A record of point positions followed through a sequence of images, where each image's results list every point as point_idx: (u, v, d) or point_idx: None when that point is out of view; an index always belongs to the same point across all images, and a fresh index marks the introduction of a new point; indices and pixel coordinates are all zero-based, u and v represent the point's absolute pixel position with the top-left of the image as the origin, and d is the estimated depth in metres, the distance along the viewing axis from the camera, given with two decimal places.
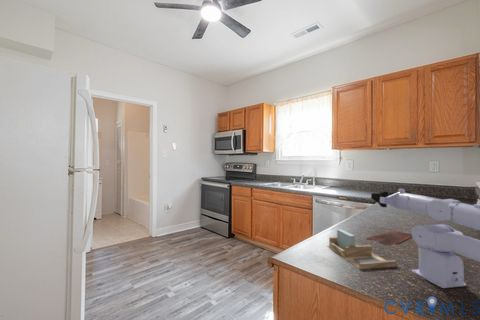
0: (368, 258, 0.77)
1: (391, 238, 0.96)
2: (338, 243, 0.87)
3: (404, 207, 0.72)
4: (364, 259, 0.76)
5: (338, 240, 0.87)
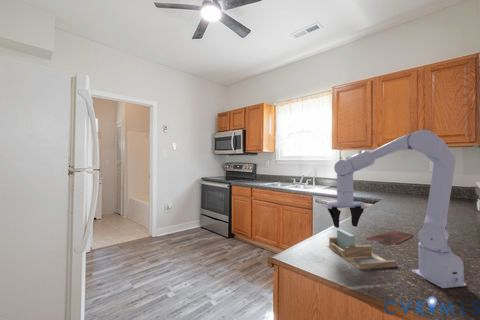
0: (368, 258, 0.77)
1: (391, 238, 0.96)
2: (338, 243, 0.87)
3: (342, 195, 0.82)
4: (364, 259, 0.76)
5: (338, 240, 0.87)
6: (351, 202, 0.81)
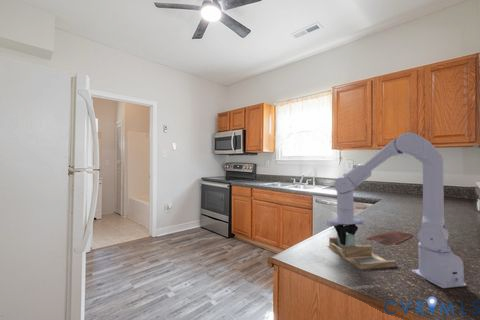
0: (368, 258, 0.77)
1: (391, 238, 0.96)
2: (338, 243, 0.87)
3: (342, 213, 0.82)
4: (364, 259, 0.76)
5: (338, 240, 0.87)
6: (351, 220, 0.81)
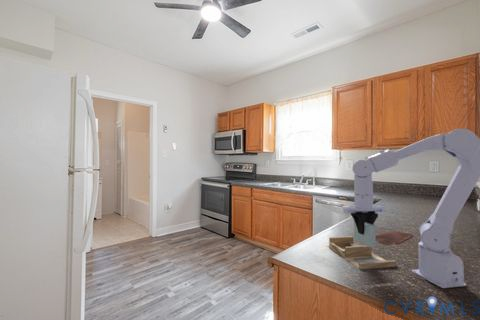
0: (368, 258, 0.77)
1: (391, 238, 0.96)
2: (355, 234, 0.79)
3: (361, 199, 0.74)
4: (364, 259, 0.76)
5: (355, 231, 0.79)
6: (371, 206, 0.74)
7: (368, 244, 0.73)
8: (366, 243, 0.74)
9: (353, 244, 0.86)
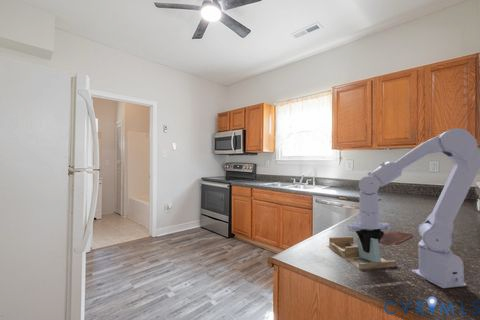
0: None
1: (391, 239, 0.96)
2: (360, 252, 0.77)
3: (366, 217, 0.72)
4: (364, 259, 0.76)
5: (359, 248, 0.78)
6: (377, 224, 0.72)
7: (374, 259, 0.71)
8: (371, 259, 0.72)
9: (353, 244, 0.86)
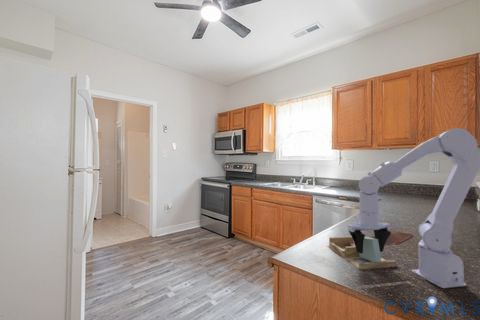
0: None
1: (391, 239, 0.96)
2: None
3: (366, 217, 0.72)
4: (364, 259, 0.76)
5: None
6: (377, 224, 0.72)
7: (374, 259, 0.71)
8: (371, 259, 0.72)
9: (353, 244, 0.86)
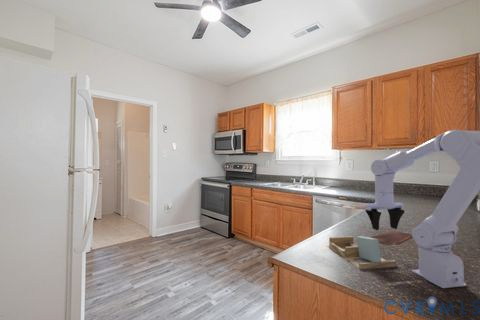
0: None
1: (391, 239, 0.96)
2: (360, 252, 0.77)
3: (382, 196, 0.79)
4: (364, 259, 0.76)
5: (359, 248, 0.78)
6: (392, 203, 0.78)
7: (374, 259, 0.71)
8: (371, 259, 0.72)
9: (353, 244, 0.86)
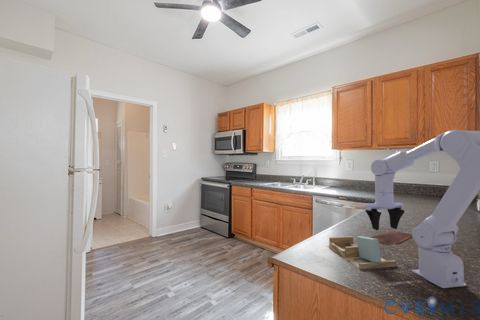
0: None
1: (391, 239, 0.96)
2: (360, 252, 0.77)
3: (382, 196, 0.79)
4: (364, 259, 0.76)
5: (359, 248, 0.78)
6: (392, 203, 0.78)
7: (374, 259, 0.71)
8: (371, 259, 0.72)
9: (353, 244, 0.86)
